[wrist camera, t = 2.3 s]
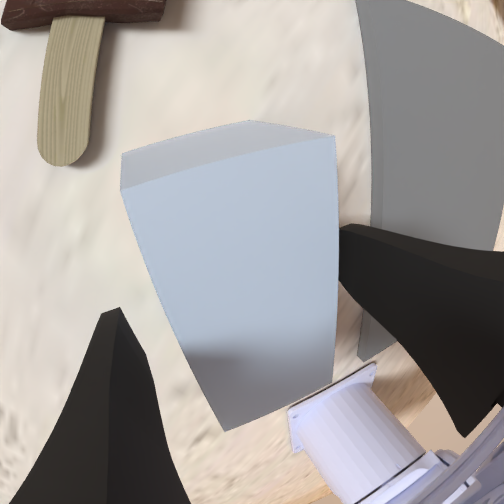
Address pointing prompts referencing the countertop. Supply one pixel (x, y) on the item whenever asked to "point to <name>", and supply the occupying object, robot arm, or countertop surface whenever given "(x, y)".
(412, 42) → the mat
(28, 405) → the countertop surface
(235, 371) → the case
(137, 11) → the ice cream bar
